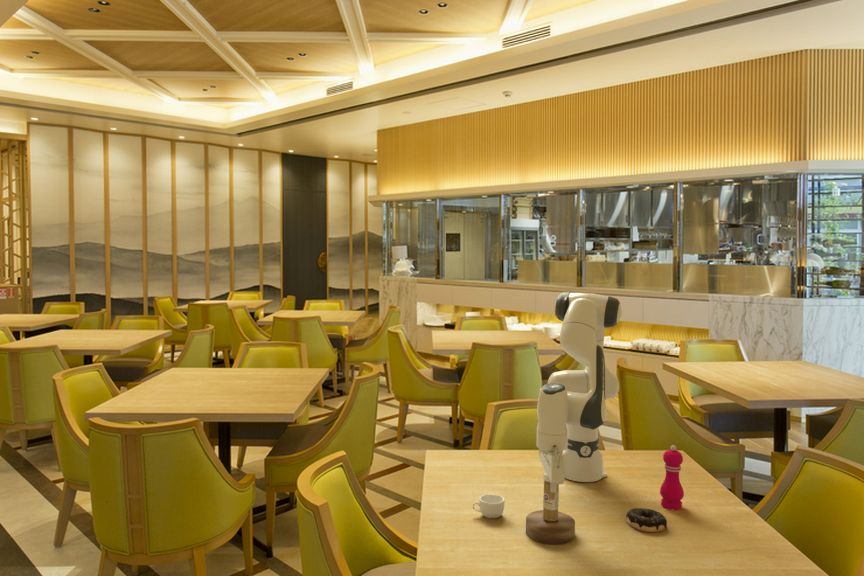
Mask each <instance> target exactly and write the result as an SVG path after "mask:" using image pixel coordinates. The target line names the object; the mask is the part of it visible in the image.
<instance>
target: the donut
mask: <svg viewBox="0 0 864 576" xmlns="http://www.w3.org/2000/svg"><path fill="white" fill-rule="evenodd" d="M625 517H626V519H625V520H626V522H627V523H628V525H630V526H631V527H632V528H634V529H636V530H639V531H641V532H645V533H659V532H661V531H664V530H667V525H668V520H667V519H666V517H665V516H664V514H663V513H661V512H659V511H657V510H654V509H649V508H644V507H642V508H641V507H639V508H637V507H635V508H630V509H629V510H628V511H627V512H626V516H625Z"/></svg>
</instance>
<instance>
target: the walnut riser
mask: <svg viewBox="0 0 864 576" xmlns="http://www.w3.org/2000/svg"><path fill="white" fill-rule="evenodd" d="M525 534H526V536H527V537H528V538H529V539H531V540H533V541H534V542H538V543H540V544H545V545H554V546H555V545H557V546H558V545H565V544H568V543H571V542H572V541H573V540H574V539H575V535H576V520H575V519H574V518H573V516H571V515H569V514H567V513H565V512H561V511H558V520H556V521H547V520H545V519H543V509H542V510H541V509H540V510H536V511H532V512H530V513H528V514H527V515H526V517H525Z"/></svg>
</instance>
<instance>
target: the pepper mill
mask: <svg viewBox="0 0 864 576" xmlns="http://www.w3.org/2000/svg"><path fill="white" fill-rule="evenodd" d="M662 460H663V462H664V470H665V477H664V479H663V482H662V483H661V486H660V488H659V494H660V496H661V497H662V498H661V501H660V503H661V504H660V505H661V507H662V508H665V509H667V510H672V511H677V510H681V509H682V508H683V502H682V500H683V499H684V496H685V495H684V493H685V491H684V488H683V486H682V484H681V480H680V472H681V471H682V466H681V464H683V462H684V457H683V454H682V453H681V452H680V451H678V450H677V447H676V445H674V444H672V445H671V446H670V449H667V450H666V451H665V452H663V455H662Z"/></svg>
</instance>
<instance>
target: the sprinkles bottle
mask: <svg viewBox="0 0 864 576" xmlns="http://www.w3.org/2000/svg"><path fill="white" fill-rule="evenodd" d="M542 478H543V496H542V499H543V500H542V510H543V519H545V520H547V521H556V520H558V512H559V503H560V502H559V501H560V500H559V495H560V494H559V492H560V491H559V488H560V487H559V485H560V484H557V491H556V492H555V493H551V492H550V489H549V488H550V487H549V486H550V479H549V477H548V475H547V473H546V472H545V471H544V473H543V477H542Z"/></svg>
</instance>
